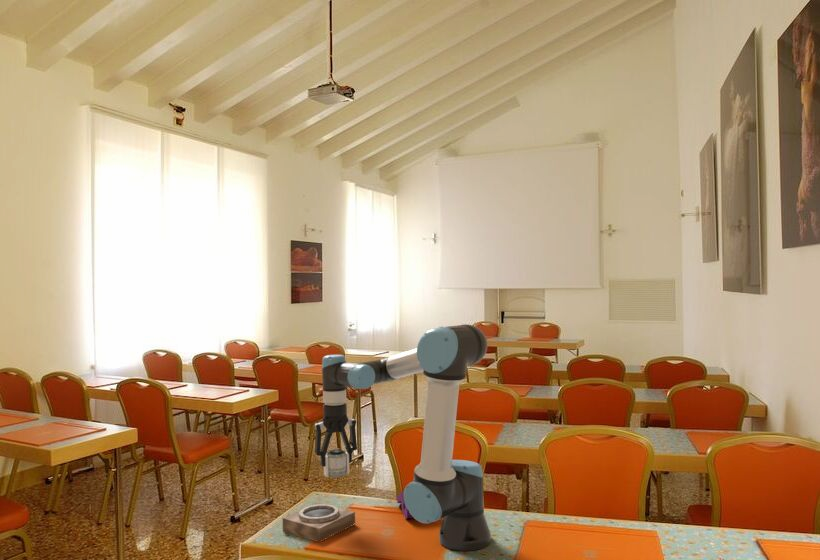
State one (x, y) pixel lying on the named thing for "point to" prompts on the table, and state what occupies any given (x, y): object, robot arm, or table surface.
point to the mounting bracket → (403, 505)
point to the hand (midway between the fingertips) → (336, 474)
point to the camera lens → (336, 463)
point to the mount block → (318, 521)
